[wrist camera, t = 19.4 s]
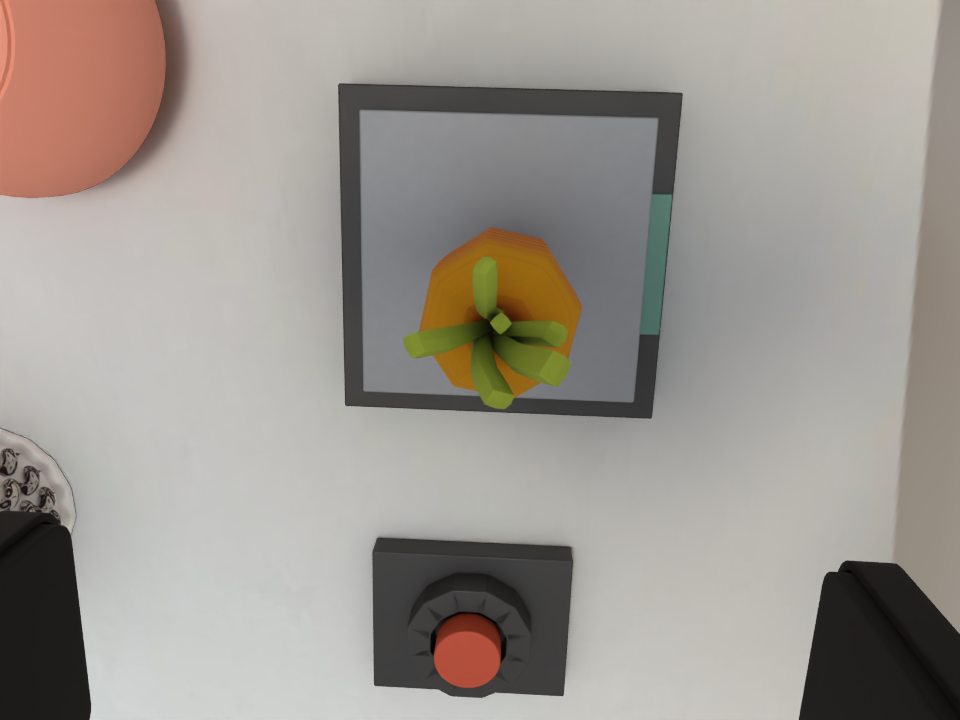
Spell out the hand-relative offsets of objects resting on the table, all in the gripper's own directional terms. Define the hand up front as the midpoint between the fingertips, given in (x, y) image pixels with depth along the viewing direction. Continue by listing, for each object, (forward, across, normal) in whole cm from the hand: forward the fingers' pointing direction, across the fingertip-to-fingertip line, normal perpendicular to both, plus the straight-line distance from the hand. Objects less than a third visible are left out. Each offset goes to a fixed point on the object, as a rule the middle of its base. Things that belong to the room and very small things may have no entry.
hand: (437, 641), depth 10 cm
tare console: (+28, +1, +18) cm, 33 cm away
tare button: (+25, +1, +18) cm, 31 cm away
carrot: (+25, 0, -1) cm, 25 cm away
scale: (+28, 0, -1) cm, 28 cm away
